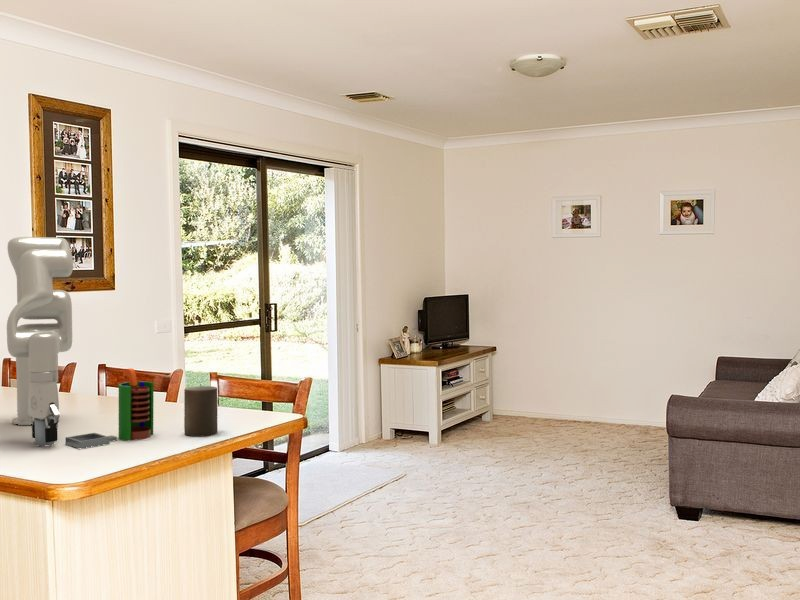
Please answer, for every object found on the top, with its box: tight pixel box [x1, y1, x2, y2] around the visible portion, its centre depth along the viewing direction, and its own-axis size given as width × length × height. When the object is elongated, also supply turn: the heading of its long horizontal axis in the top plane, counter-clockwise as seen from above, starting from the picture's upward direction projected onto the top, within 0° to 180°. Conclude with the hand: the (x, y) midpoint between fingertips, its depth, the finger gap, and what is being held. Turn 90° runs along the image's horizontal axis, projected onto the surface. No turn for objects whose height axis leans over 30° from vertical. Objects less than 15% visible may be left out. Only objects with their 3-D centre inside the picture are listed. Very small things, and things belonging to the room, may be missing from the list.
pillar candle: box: [183, 383, 218, 437], centre depth 238 cm, size 10×10×15 cm
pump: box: [34, 416, 56, 447], centre depth 223 cm, size 5×5×9 cm
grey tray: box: [64, 432, 118, 449], centre depth 224 cm, size 9×12×2 cm
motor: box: [118, 368, 155, 441], centre depth 232 cm, size 10×9×20 cm
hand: (44, 439), depth 223 cm, fingers open, 7 cm apart
